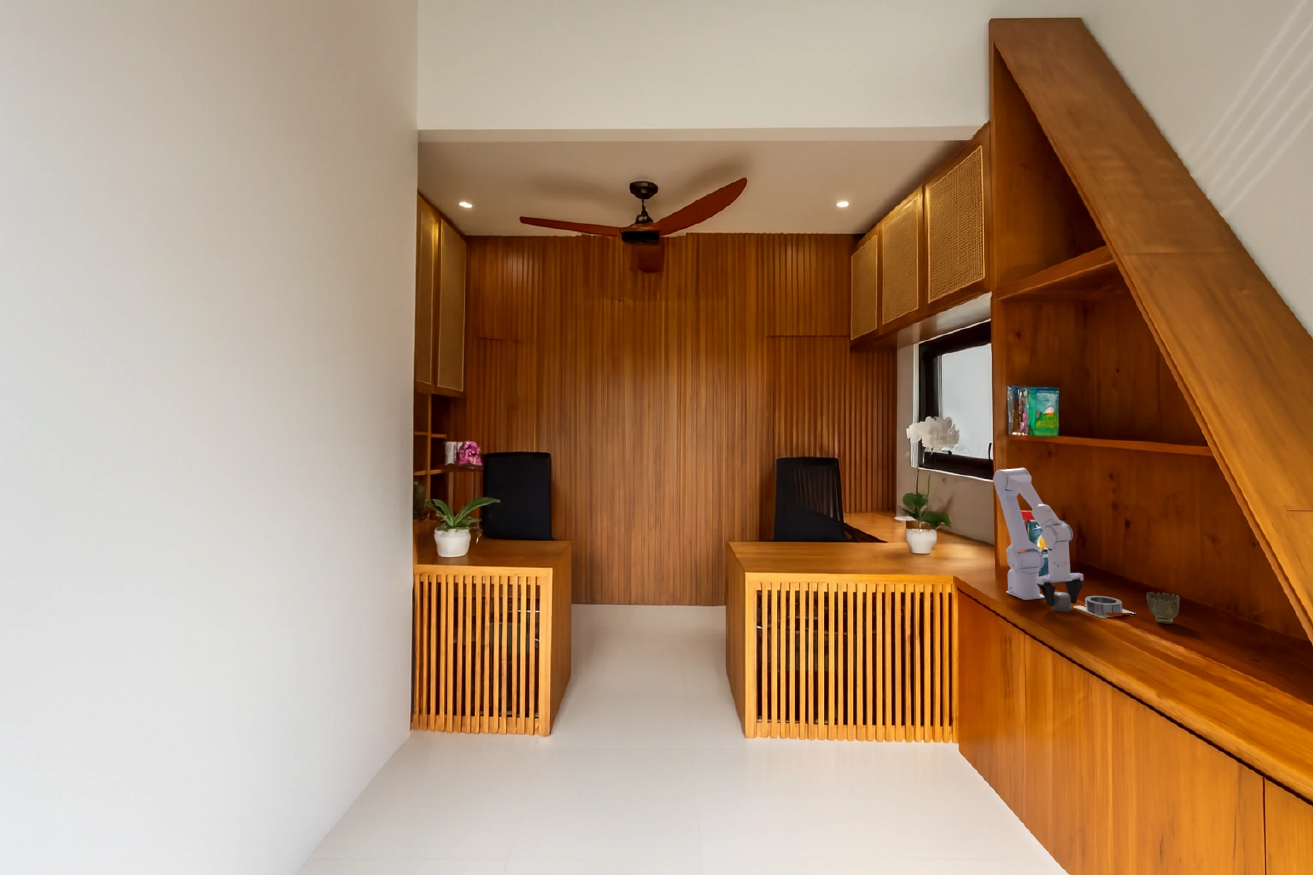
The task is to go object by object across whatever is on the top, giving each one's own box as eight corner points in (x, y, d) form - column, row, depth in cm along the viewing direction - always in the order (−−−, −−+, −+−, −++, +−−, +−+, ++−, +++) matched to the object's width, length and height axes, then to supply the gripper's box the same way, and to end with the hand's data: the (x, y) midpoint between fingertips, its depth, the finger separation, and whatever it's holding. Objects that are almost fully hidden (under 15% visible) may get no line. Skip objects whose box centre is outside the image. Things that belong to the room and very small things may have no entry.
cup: (1178, 628, 165) (1176, 600, 164) (1145, 623, 170) (1143, 595, 170) (1183, 621, 169) (1182, 594, 169) (1150, 616, 175) (1149, 589, 175)
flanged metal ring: (1073, 607, 187) (1072, 596, 187) (1104, 604, 188) (1104, 593, 188) (1102, 618, 176) (1102, 607, 176) (1136, 614, 177) (1135, 603, 177)
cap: (1048, 607, 188) (1047, 592, 188) (1062, 606, 189) (1061, 591, 189) (1060, 612, 183) (1059, 596, 183) (1075, 611, 184) (1074, 595, 184)
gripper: (1047, 566, 181) (1049, 610, 181) (1090, 562, 183) (1092, 605, 183) (1030, 561, 188) (1033, 603, 188) (1072, 557, 190) (1074, 599, 190)
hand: (1061, 604), depth 186 cm, fingers open, 7 cm apart
